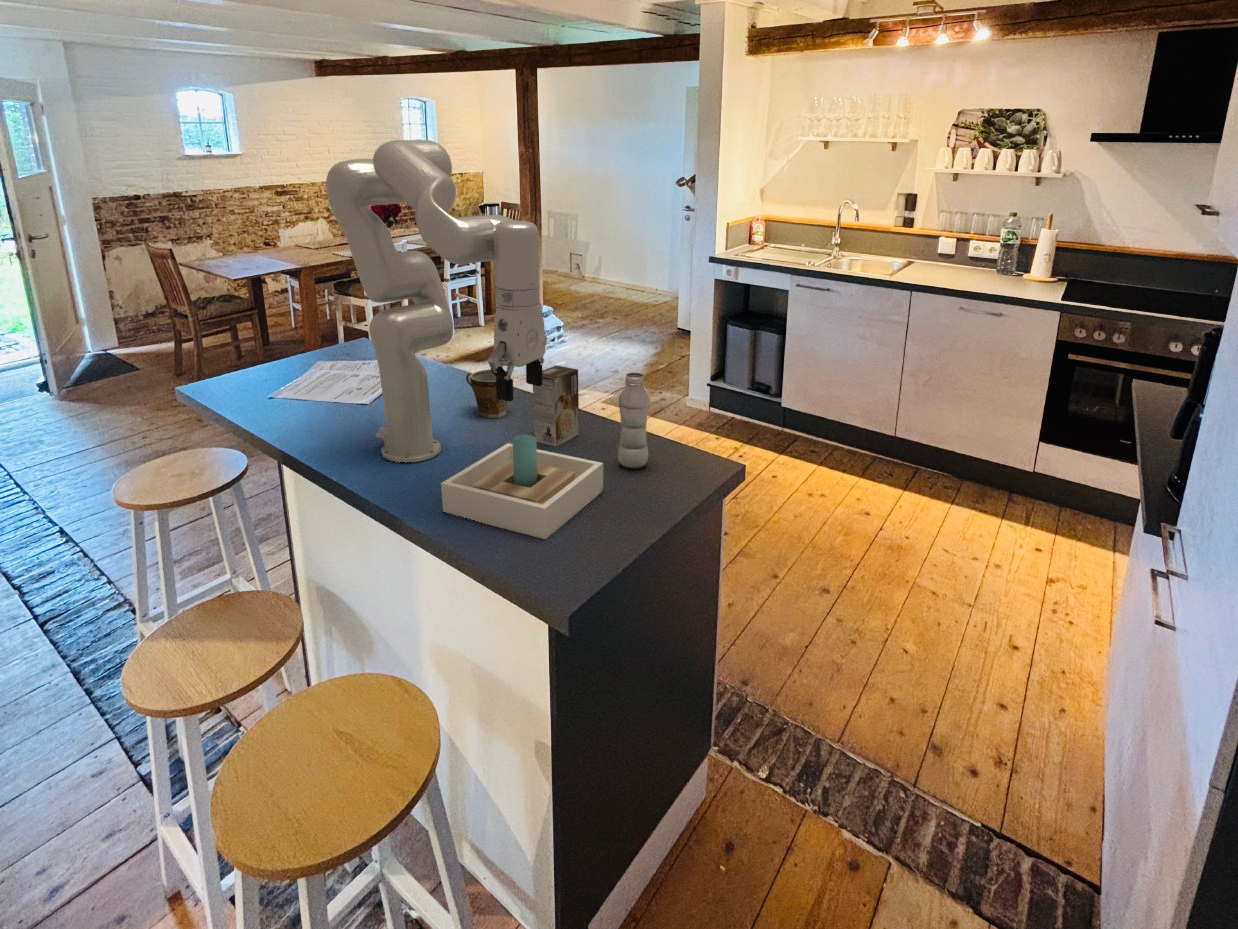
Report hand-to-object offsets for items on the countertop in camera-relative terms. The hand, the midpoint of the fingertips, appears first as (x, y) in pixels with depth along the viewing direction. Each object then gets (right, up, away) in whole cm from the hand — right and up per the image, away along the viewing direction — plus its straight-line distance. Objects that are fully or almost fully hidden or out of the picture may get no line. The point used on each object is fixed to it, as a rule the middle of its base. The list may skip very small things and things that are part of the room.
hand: (520, 391), depth 137 cm
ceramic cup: (-15, 0, +54) cm, 56 cm away
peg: (0, -19, +8) cm, 21 cm away
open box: (0, -20, +9) cm, 22 cm away
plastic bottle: (+21, -13, +25) cm, 35 cm away
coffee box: (+4, -7, +39) cm, 39 cm away
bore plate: (0, -20, +9) cm, 22 cm away
